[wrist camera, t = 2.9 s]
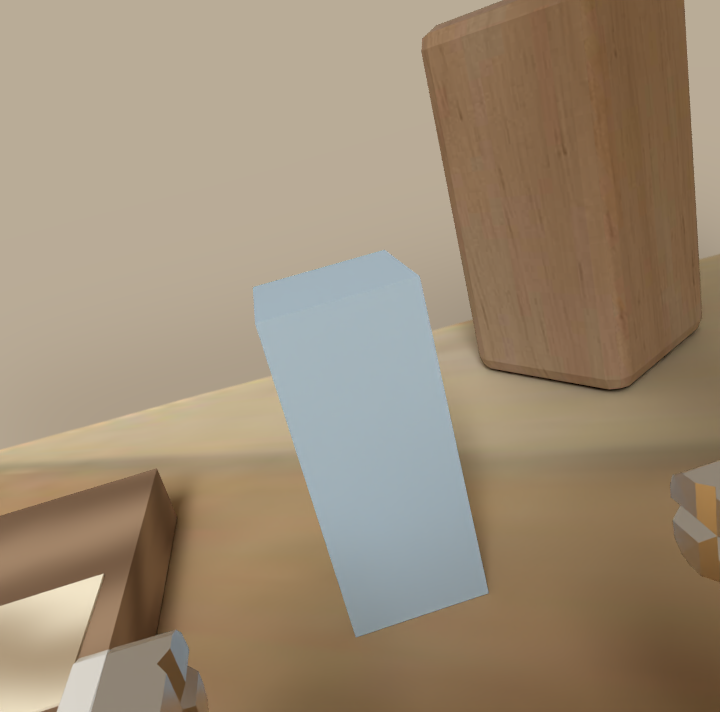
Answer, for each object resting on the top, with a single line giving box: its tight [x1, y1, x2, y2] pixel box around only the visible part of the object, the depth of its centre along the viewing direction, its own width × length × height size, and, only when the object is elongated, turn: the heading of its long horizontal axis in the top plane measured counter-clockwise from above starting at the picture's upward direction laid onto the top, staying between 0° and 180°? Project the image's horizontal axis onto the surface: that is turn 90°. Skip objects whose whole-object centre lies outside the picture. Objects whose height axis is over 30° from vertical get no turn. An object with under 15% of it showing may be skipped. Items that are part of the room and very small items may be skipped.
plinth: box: [0, 469, 177, 712], centre depth 25 cm, size 16×8×3 cm, turn 11°
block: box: [422, 0, 702, 390], centre depth 36 cm, size 10×10×20 cm
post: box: [253, 250, 489, 637], centre depth 23 cm, size 5×5×12 cm
